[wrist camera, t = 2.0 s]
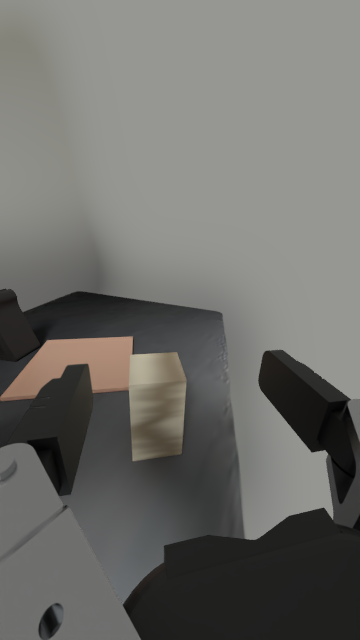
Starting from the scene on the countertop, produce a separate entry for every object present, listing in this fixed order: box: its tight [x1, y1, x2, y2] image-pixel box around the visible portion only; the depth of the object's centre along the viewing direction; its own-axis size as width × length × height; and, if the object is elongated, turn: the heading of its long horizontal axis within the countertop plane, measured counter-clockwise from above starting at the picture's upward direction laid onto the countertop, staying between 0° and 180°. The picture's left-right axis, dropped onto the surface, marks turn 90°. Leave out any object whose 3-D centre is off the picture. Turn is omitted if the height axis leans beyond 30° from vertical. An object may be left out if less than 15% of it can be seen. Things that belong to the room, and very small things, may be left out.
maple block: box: [129, 352, 187, 461], centre depth 24 cm, size 5×5×10 cm
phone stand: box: [0, 289, 41, 362], centre depth 41 cm, size 9×6×12 cm, turn 81°
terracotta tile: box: [0, 337, 133, 401], centre depth 40 cm, size 18×18×1 cm
